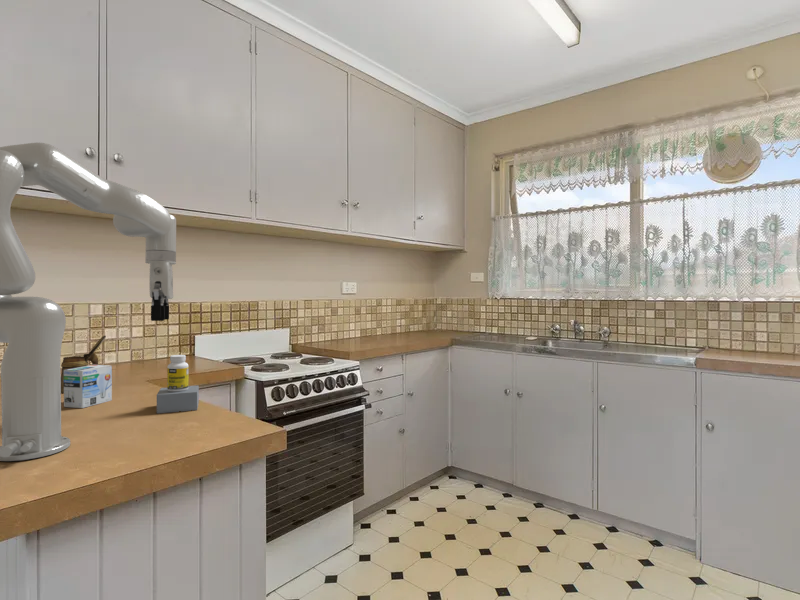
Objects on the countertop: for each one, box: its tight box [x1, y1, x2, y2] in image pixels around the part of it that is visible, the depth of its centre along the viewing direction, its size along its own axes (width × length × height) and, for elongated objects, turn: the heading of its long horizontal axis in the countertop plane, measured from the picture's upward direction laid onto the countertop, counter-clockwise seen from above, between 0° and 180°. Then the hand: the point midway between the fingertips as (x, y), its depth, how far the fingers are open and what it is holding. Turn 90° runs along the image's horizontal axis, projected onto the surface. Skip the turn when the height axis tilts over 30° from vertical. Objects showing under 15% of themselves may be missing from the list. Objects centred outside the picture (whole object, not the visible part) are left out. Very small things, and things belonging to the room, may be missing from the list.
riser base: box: [156, 385, 200, 414], centre depth 131 cm, size 10×10×5 cm
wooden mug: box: [60, 335, 107, 394], centre depth 155 cm, size 9×14×18 cm, turn 127°
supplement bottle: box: [166, 354, 190, 392], centre depth 130 cm, size 5×5×10 cm
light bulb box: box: [63, 364, 113, 409], centre depth 135 cm, size 11×7×11 cm, turn 168°
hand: (160, 320), depth 127 cm, fingers open, 9 cm apart
